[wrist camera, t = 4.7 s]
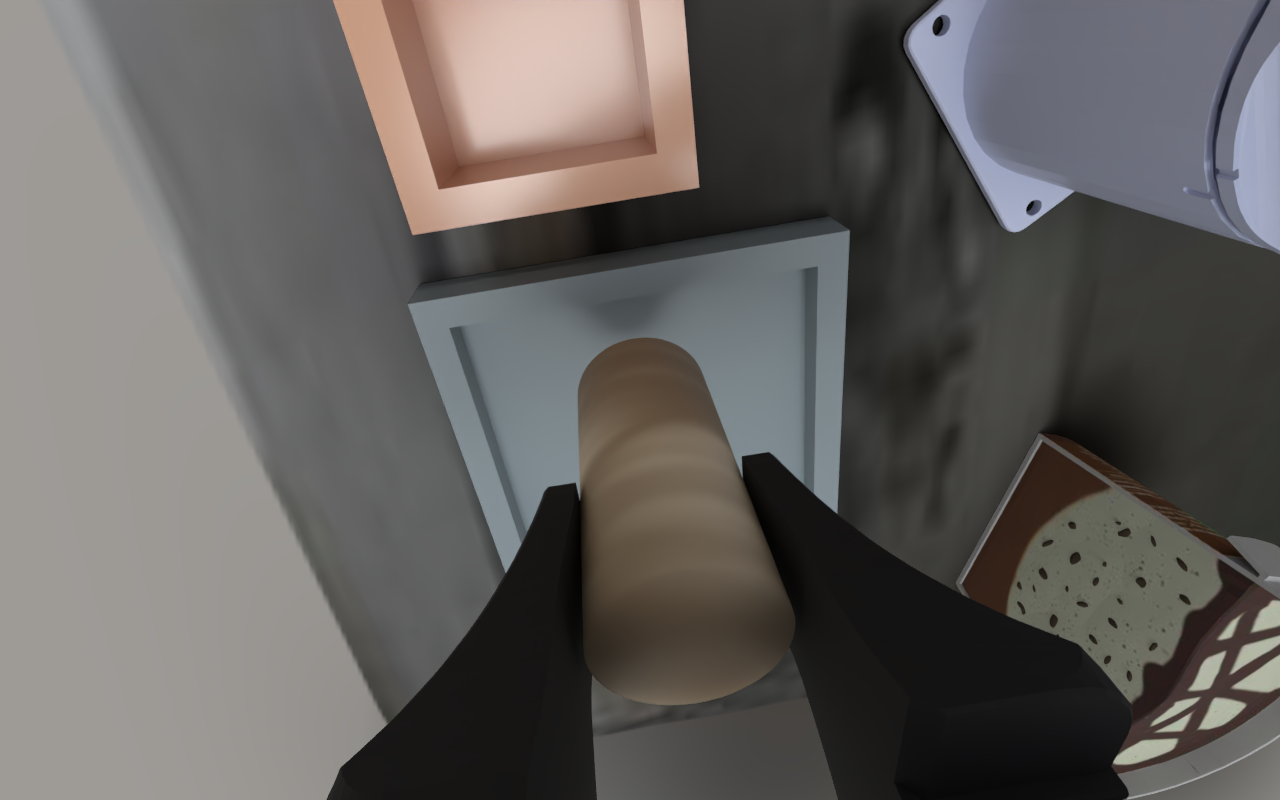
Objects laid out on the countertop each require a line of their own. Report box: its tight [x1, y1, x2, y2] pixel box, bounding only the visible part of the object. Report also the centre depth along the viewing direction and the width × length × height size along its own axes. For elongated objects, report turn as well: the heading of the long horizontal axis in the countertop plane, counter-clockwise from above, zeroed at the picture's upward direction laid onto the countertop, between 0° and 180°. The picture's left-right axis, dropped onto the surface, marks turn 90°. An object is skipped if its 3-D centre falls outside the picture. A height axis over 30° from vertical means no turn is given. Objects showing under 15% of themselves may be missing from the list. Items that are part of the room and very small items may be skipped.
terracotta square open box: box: [333, 0, 699, 235], centre depth 15 cm, size 8×8×4 cm
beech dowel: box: [578, 337, 795, 705], centre depth 14 cm, size 4×4×8 cm
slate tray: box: [408, 216, 850, 572], centre depth 23 cm, size 14×14×2 cm
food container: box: [955, 433, 1280, 800], centre depth 25 cm, size 12×6×10 cm, turn 172°
